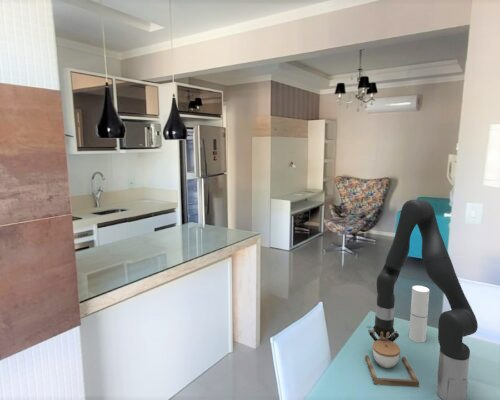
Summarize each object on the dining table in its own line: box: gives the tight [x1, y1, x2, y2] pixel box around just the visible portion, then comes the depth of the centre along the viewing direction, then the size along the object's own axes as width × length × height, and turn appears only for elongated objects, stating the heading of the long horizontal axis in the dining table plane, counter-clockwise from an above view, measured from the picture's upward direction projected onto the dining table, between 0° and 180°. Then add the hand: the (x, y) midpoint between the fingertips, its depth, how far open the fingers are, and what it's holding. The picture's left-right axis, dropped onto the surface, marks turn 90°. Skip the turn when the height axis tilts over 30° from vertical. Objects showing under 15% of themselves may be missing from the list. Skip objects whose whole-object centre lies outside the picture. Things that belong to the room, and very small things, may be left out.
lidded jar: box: [372, 340, 401, 369], centre depth 145 cm, size 11×11×9 cm
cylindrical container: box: [408, 285, 430, 344], centre depth 162 cm, size 7×7×25 cm
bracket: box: [364, 354, 420, 388], centre depth 140 cm, size 16×16×2 cm
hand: (382, 351), depth 151 cm, fingers closed
